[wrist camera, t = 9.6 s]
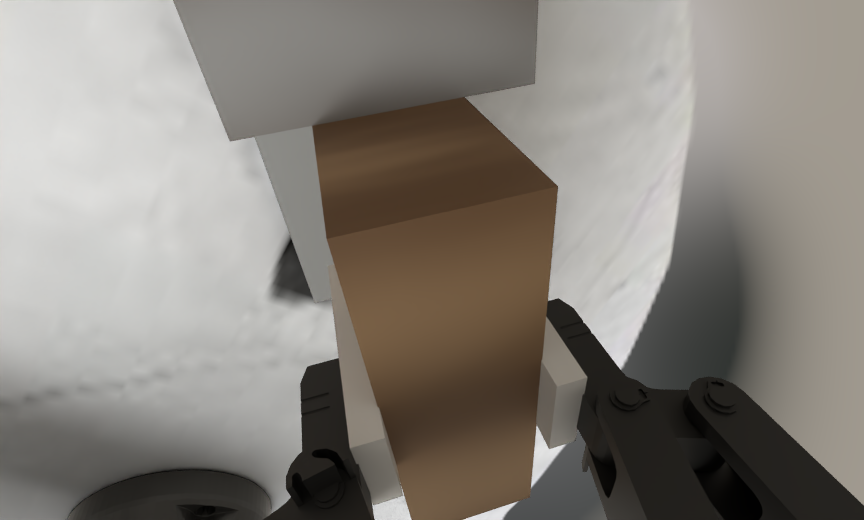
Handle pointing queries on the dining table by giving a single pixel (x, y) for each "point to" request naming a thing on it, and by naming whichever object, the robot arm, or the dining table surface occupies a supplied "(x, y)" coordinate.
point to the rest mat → (300, 201)
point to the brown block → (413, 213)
